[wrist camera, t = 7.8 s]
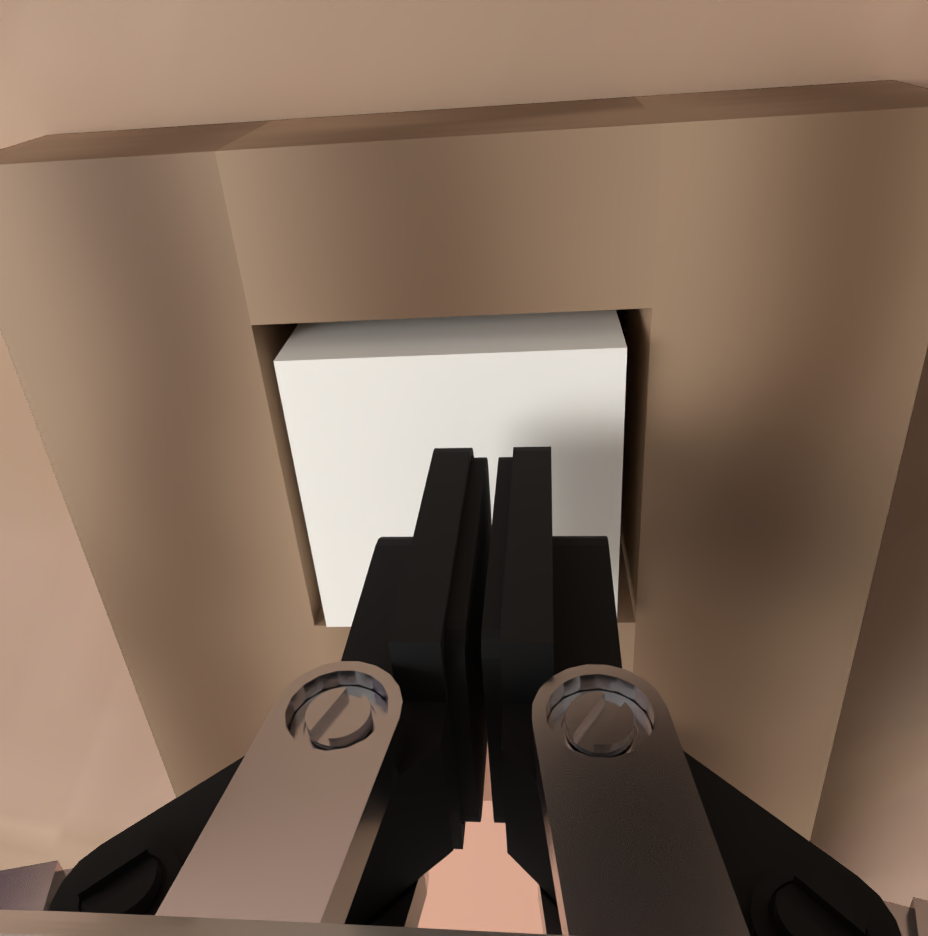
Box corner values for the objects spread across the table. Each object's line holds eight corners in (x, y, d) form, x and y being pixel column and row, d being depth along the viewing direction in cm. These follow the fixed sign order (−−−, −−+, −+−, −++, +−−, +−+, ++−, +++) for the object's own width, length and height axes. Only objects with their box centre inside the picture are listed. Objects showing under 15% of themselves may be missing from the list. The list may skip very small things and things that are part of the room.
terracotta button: (605, 678, 17) (620, 801, 14) (600, 834, 20) (613, 963, 17) (361, 679, 17) (332, 799, 15) (388, 832, 20) (368, 957, 17)
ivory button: (607, 282, 14) (627, 347, 12) (602, 526, 17) (616, 624, 14) (317, 295, 15) (273, 361, 12) (356, 531, 17) (326, 627, 15)
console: (891, 80, 13) (984, 102, 10) (725, 992, 26) (747, 1100, 24) (46, 134, 14) (-61, 168, 11) (305, 980, 28) (283, 1082, 25)
